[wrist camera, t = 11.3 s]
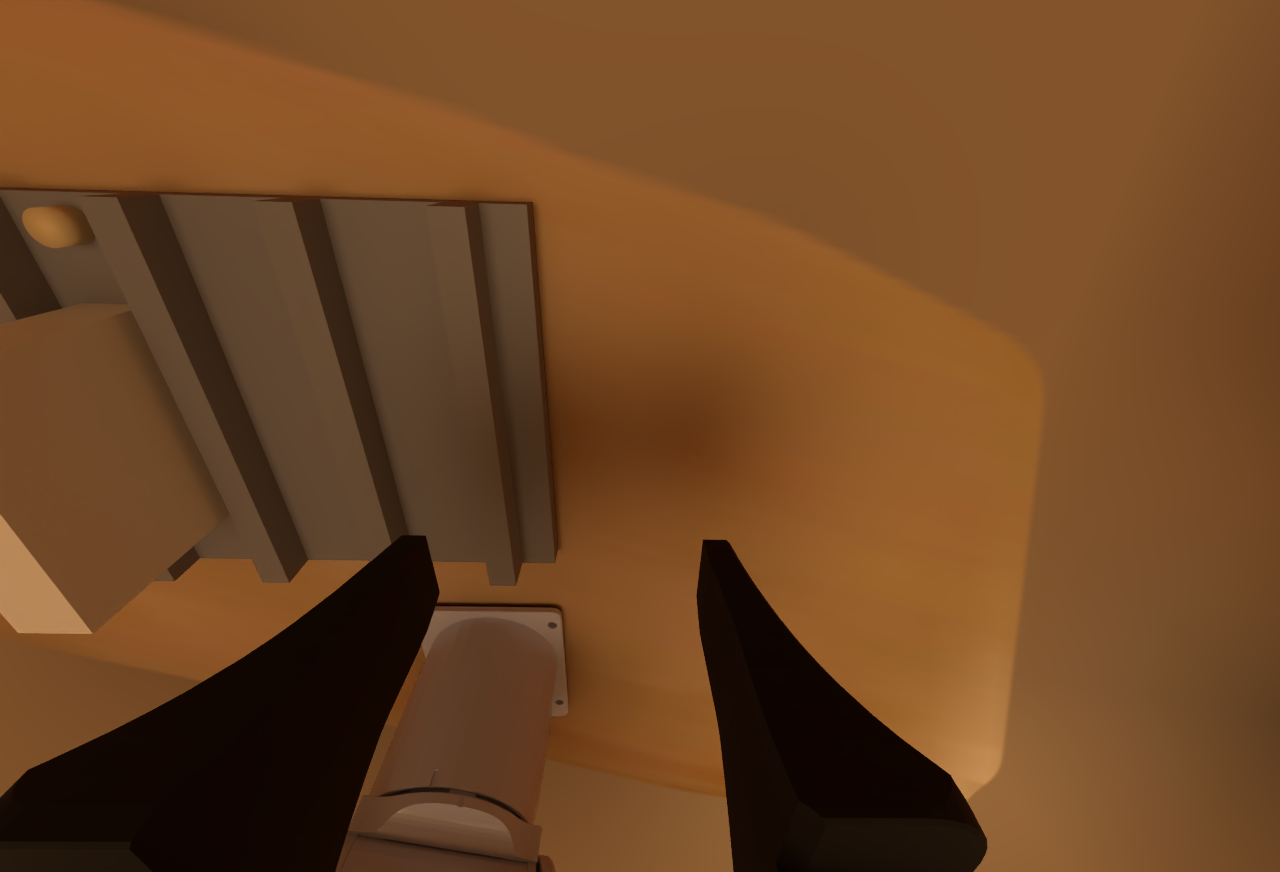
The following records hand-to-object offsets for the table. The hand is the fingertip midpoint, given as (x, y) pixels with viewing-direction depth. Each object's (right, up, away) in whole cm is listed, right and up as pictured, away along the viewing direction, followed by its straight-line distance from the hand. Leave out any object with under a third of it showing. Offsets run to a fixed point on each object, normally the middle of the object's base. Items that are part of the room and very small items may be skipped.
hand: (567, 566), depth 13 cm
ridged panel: (-12, +5, +8) cm, 15 cm away
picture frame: (-17, +4, +7) cm, 19 cm away
